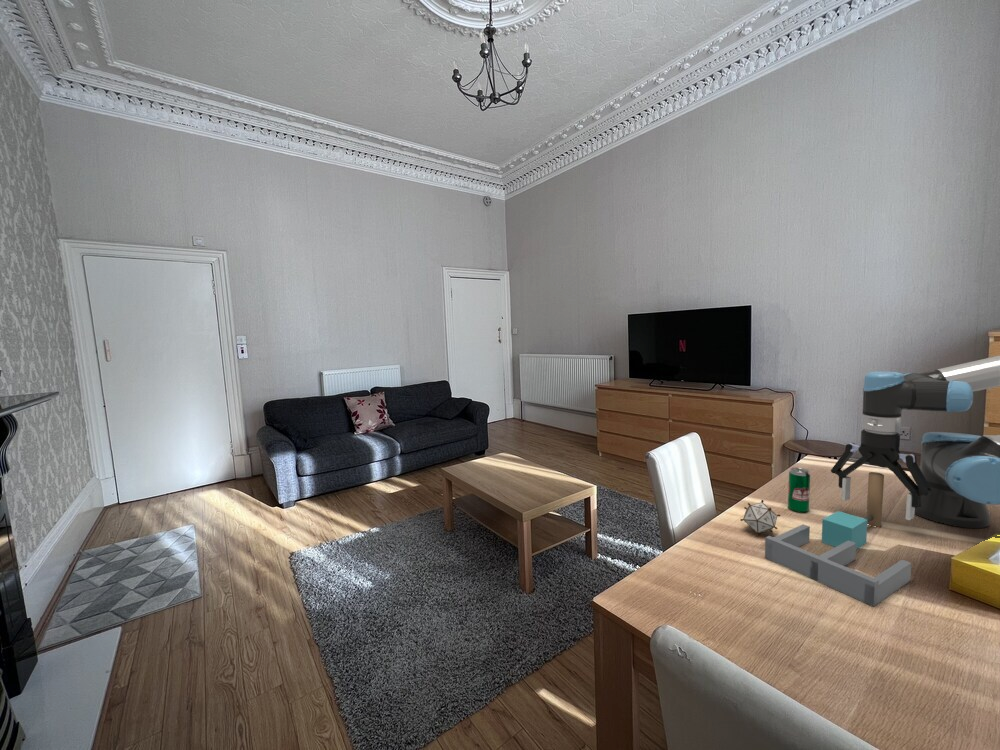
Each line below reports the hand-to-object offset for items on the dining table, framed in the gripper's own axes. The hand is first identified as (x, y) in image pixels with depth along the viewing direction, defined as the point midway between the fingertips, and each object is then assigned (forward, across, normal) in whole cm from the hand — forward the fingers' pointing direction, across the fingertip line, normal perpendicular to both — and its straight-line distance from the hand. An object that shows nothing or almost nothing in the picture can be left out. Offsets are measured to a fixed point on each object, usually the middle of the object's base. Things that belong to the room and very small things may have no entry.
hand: (876, 508), depth 111 cm
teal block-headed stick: (+4, 0, -11) cm, 11 cm away
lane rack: (+4, +5, -32) cm, 33 cm away
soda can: (+4, -15, -7) cm, 17 cm away
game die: (+4, -13, -29) cm, 32 cm away
